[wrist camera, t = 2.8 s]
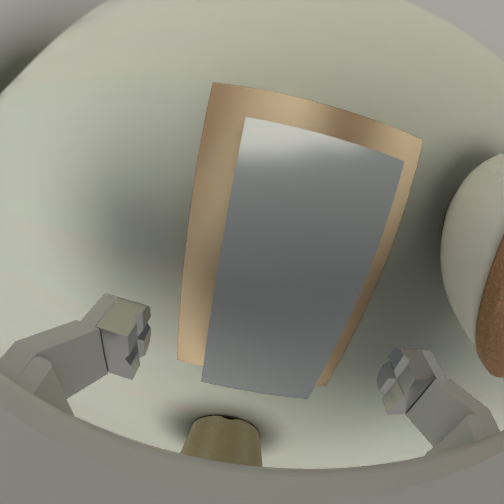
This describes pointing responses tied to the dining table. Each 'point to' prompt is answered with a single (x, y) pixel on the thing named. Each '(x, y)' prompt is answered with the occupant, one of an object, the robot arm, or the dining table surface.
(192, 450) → the flower pot
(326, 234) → the slate tile
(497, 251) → the lidded jar
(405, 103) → the dining table surface
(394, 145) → the wooden board
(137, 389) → the dining table surface
